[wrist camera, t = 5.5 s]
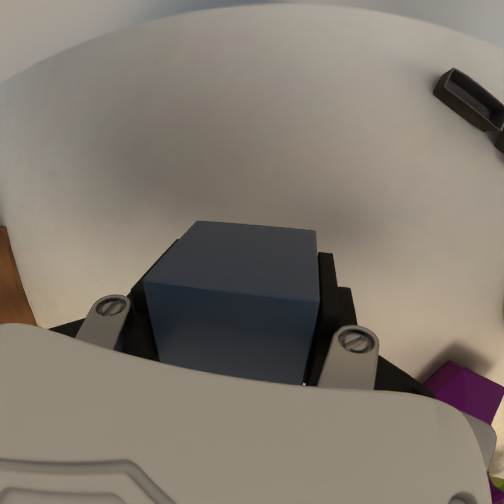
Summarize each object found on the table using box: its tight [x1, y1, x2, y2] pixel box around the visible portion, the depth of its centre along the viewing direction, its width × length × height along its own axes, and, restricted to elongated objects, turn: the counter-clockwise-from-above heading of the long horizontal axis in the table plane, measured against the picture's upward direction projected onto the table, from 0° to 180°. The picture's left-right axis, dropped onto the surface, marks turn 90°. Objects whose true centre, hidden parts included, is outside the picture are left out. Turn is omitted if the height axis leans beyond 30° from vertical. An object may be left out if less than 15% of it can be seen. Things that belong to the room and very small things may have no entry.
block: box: [143, 221, 320, 386], centre depth 10 cm, size 4×4×4 cm
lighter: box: [434, 68, 504, 153], centre depth 11 cm, size 8×2×5 cm
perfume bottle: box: [423, 361, 504, 504], centre depth 12 cm, size 8×8×18 cm
